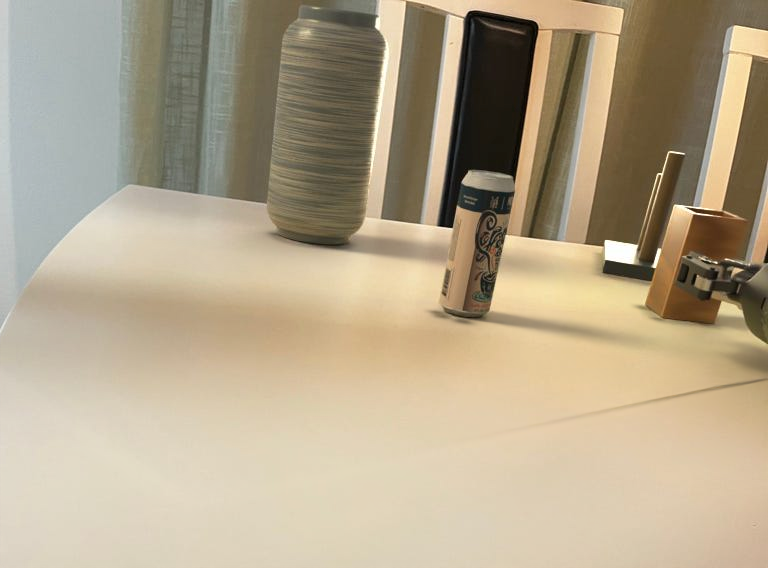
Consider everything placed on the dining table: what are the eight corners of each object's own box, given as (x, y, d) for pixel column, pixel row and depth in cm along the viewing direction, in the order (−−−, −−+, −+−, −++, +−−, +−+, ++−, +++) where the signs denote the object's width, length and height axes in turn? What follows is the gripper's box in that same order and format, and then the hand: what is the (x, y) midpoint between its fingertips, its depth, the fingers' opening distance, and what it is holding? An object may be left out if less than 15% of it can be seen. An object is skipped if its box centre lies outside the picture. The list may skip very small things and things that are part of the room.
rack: (678, 264, 133) (712, 152, 126) (686, 287, 119) (725, 162, 112) (602, 251, 134) (631, 140, 127) (602, 272, 121) (634, 149, 114)
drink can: (476, 321, 92) (506, 180, 86) (429, 310, 94) (455, 170, 88) (495, 314, 96) (525, 177, 89) (450, 302, 98) (476, 168, 91)
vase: (306, 249, 112) (335, 8, 100) (244, 227, 119) (264, -1, 107) (381, 246, 119) (416, 20, 107) (318, 225, 126) (344, 11, 114)
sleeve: (695, 310, 108) (726, 211, 103) (714, 323, 103) (748, 220, 98) (644, 304, 108) (673, 204, 102) (661, 317, 103) (693, 213, 98)
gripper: (915, 272, 79) (820, 235, 93) (743, 251, 78) (672, 216, 92) (876, 366, 83) (790, 316, 97) (710, 347, 82) (647, 300, 96)
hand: (732, 268), depth 95 cm, fingers open, 8 cm apart
